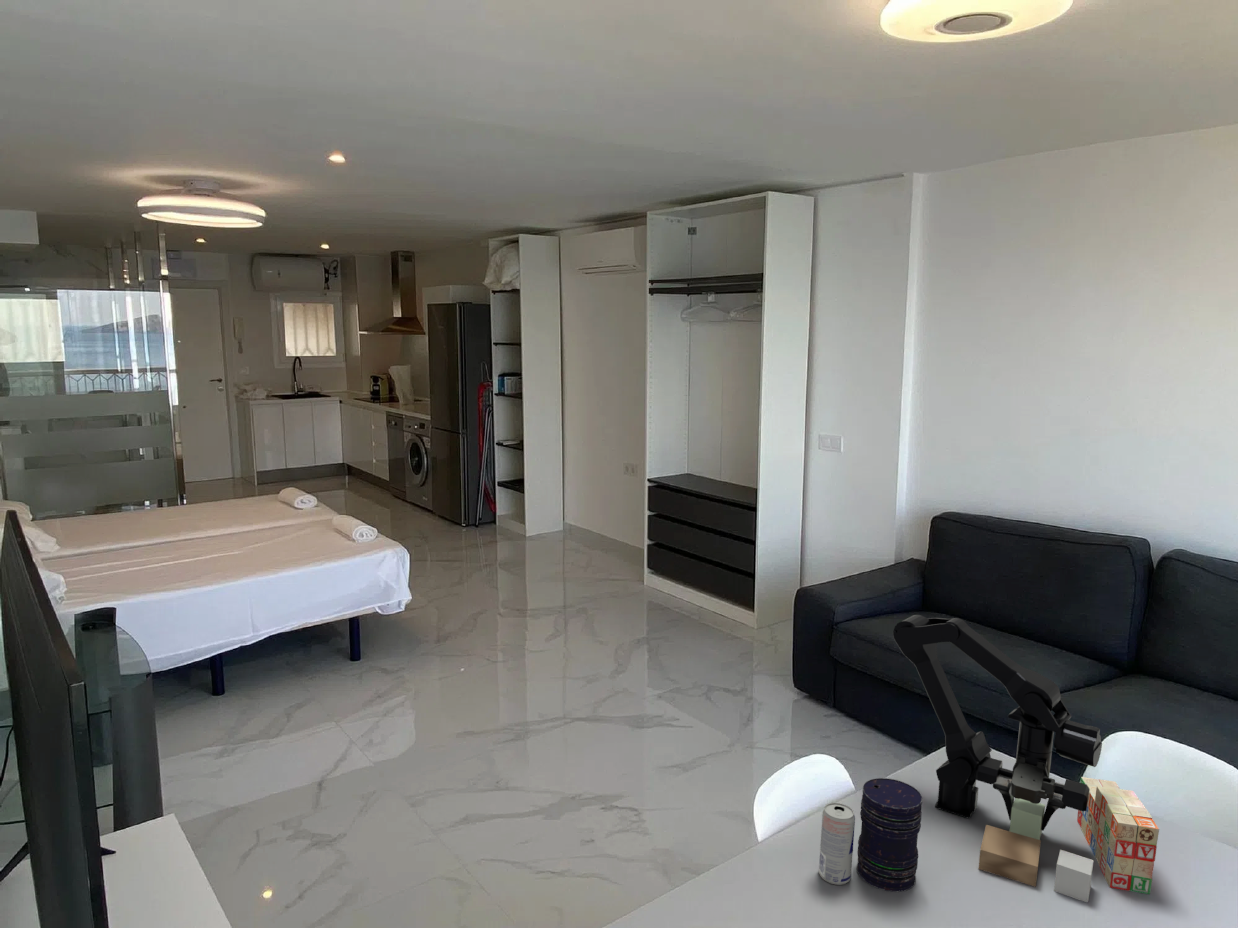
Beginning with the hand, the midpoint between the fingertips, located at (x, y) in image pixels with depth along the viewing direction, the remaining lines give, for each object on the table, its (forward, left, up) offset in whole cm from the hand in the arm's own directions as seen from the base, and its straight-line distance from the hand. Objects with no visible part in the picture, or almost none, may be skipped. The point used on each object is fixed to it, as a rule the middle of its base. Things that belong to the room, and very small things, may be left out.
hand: (1026, 824), depth 153 cm
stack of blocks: (+14, +2, -2) cm, 14 cm away
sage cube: (0, 0, -1) cm, 1 cm away
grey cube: (+9, -13, -2) cm, 16 cm away
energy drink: (-25, -34, -2) cm, 42 cm away
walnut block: (-1, -12, -2) cm, 12 cm away
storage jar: (-18, -28, -2) cm, 33 cm away
